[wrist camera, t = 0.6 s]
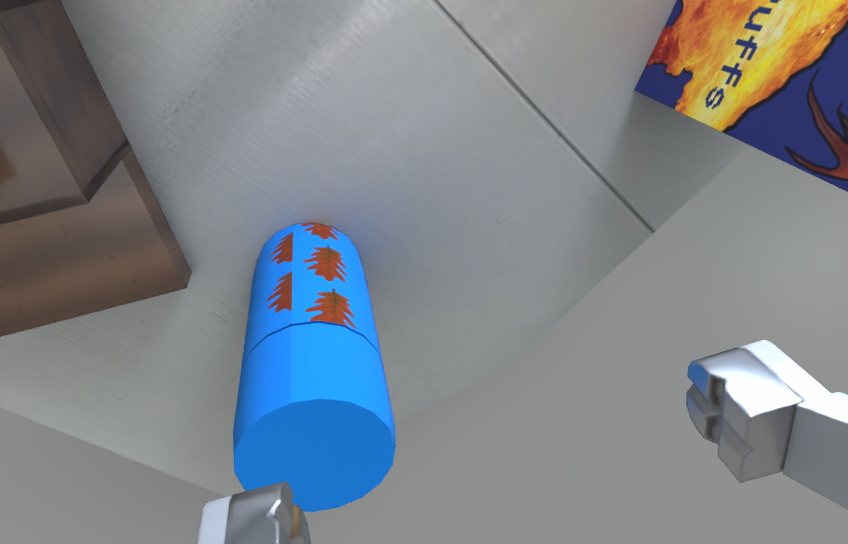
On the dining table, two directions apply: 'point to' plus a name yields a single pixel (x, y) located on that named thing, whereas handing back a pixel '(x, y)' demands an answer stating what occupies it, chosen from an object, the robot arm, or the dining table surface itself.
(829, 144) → the cereal box
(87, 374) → the dining table surface
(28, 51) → the step shelf
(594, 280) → the dining table surface
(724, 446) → the robot arm
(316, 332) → the thermos
